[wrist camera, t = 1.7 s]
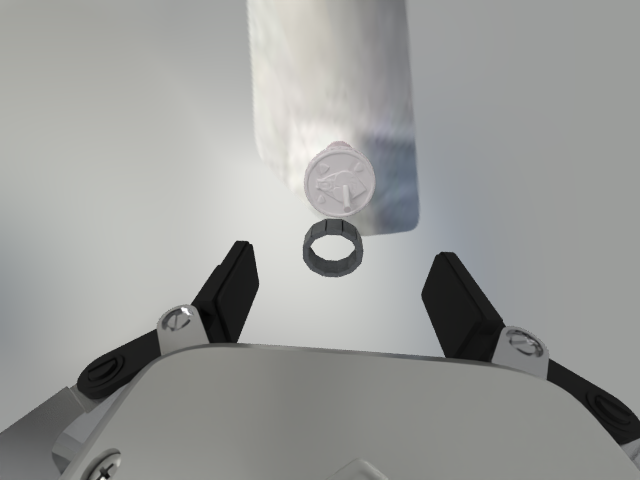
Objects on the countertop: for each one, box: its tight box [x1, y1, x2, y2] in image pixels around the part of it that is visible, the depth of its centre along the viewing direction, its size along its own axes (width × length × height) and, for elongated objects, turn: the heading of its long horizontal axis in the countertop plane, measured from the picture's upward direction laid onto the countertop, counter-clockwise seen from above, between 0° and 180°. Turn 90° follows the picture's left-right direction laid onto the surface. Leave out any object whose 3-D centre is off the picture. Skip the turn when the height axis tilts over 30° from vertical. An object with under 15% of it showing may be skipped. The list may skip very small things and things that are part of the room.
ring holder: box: [303, 219, 363, 277], centre depth 34 cm, size 9×9×3 cm
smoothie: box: [304, 141, 375, 217], centre depth 22 cm, size 6×6×14 cm
